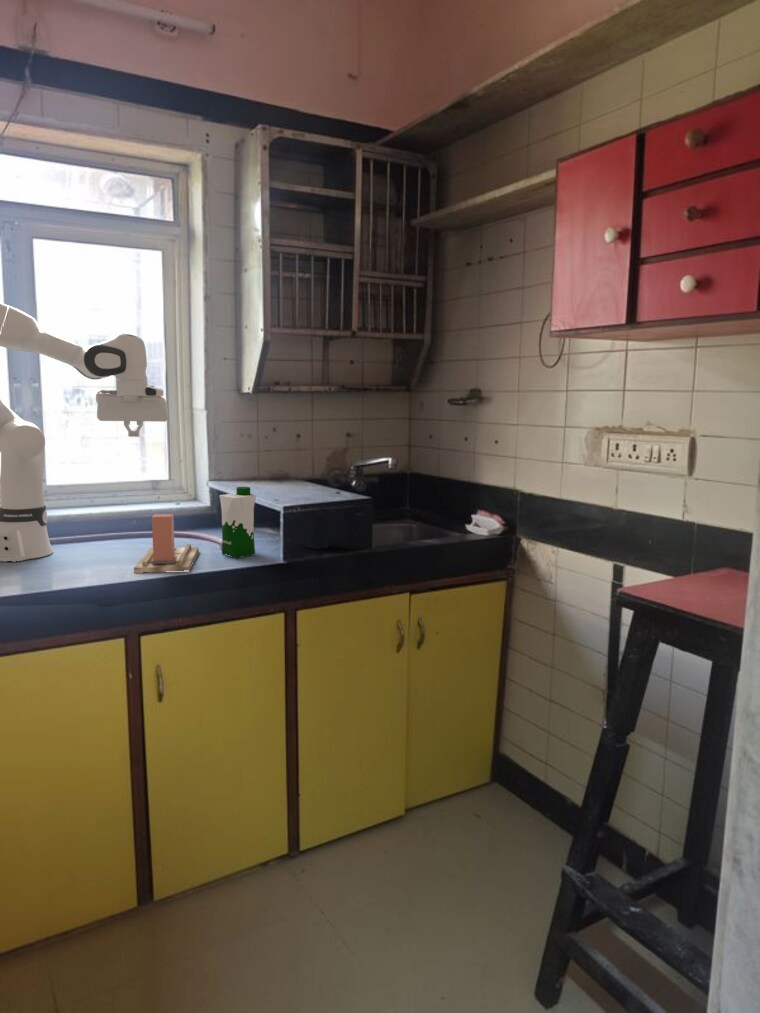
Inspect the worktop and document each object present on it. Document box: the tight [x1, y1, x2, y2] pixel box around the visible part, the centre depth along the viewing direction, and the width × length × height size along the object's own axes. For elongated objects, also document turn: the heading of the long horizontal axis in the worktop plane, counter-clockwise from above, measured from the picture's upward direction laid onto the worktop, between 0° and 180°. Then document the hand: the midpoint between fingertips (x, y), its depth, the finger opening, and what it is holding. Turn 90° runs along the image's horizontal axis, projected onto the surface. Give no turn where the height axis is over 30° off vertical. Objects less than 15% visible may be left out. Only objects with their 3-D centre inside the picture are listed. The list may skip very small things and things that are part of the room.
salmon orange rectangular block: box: [151, 513, 177, 564], centre depth 191 cm, size 6×5×13 cm
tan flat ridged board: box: [133, 543, 199, 574], centre depth 199 cm, size 14×24×3 cm, turn 8°
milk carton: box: [219, 486, 257, 558], centre depth 208 cm, size 9×9×20 cm
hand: (133, 436), depth 212 cm, fingers closed
